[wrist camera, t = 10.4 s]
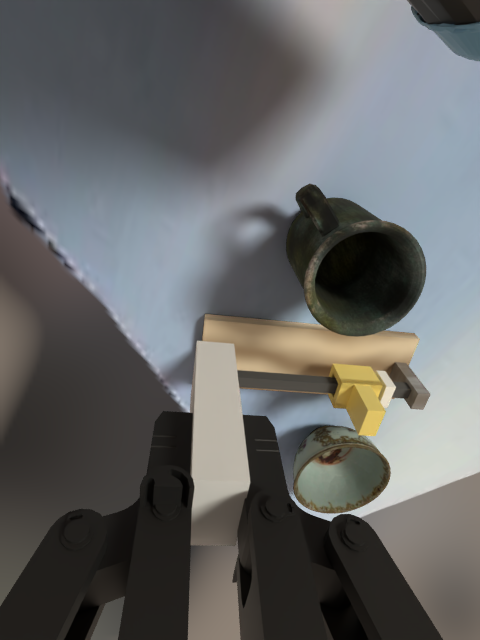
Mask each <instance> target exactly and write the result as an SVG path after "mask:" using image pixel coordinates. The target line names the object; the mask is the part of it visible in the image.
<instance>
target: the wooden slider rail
mask: <svg viewBox="0 0 480 640" xmlns="http://www.w3.org/2000/svg"><path fill="white" fill-rule="evenodd" d="M419 340H420V339H419V338H418V337H417V336H416V335H415V333H405V332H394V331H381V332H379V333H376V334H372V335H367V336H359V337H354V336H345V335H340V334H337V333H335V332H332V331H330V330H328V329H327V328H325V327H324V326H322V325H319V324H309V323H298V322H287V321H276V320H266V319H255V318H244V317H234V316H223V315H212V314H205V318H204V327H203V335H202V341H207V342H219V343H231V344H234V347H235V356H236V364H237V370H243V371H256V372H269V373H283V374H296V375H310V376H323V377H329V374H330V371H331V368H332V365H333V364H345V365H357V366H370V367H371V368H372V369H373V371H374V372H376V370H378V371H386V373H387V374H388V376H389V377H390V379H391V380H392V382H404V383H407V384H408V385H409V387H410V388H411V393H410V395H409V397H408V399H405V398H404V399H405V401H406V402H407V404H408V405H409V406H410V408H411V409H421V410H423V409H424V407H425V405H426V403H427V401H428V399H429V397H430V393H429V392H428V390H427V389H426V388H425V387H424V385H423V384H422V383H421V381H420V380H419V379H418V378H417V376H416V375H415V374H414V372H413V371H412V370H411V369H410V367H409V363H410V361H411V359H412V356H413V354H414V352H415V349H416V347H417V345H418V342H419ZM239 388H242V389H257V390H272V391H286V392H301V393H316V394H328V393H318V392H303V391H288V390H274V389H259V388H245V387H239ZM391 399H394V398H391Z"/></svg>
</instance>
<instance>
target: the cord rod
mask: <svg viewBox="0 0 480 640" xmlns="http://www.w3.org/2000/svg"><path fill="white" fill-rule="evenodd" d="M237 373H238V381H239V387H245V388H259V389H274V390H288V391H303V392H318V393H332V394H335V392H336V389H337V386H338V382H337V380H336V378H335V377H323V376H310V375H296V374H283V373H269V372H256V371H243V370H237ZM393 383H394V385H395V386H396V389H395V391H394V393H393V396H392V398H405V399H408V397H409V395H410V393H411V388H410V387H409V385H408V384H407V383H404V382H393Z"/></svg>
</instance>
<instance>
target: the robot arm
mask: <svg viewBox="0 0 480 640" xmlns="http://www.w3.org/2000/svg"><path fill="white" fill-rule="evenodd" d="M407 1H408V2H409V3H410V4H411V5H412V7H411V10H412V13H413V15H414V17H415V18H416V20H417V21H418V22H419V23H420V24H421V25H423V26H425V27H427V28H428V29H429V30H432V31H434V32H435V34H436V35H437V36H438V37H439V38H440V39H441V40H442V41H443V42H444V43H445V44H446V45H447V46H448V47H449V48H450V50H452V51H453V52H454V53H455V54H457V55H458V56H462V57H464V58H467V59H469V60H475V61H480V0H407ZM237 537H238V549H239V554H238V558H237V562H236V566H235V570H234V574H233V582H237V586H238V603H239V619H240V635H241V640H443V639H442V638H441V636H440V634H439V632H438V631H437V629H436V628H435V626H434V624H433V623H432V621H431V620H430V618H429V616H428V615H427V613H426V612H425V610H424V609H423V607H422V605H421V604H420V602H419V601H418V599H417V597H416V596H415V595H414V593H413V591H412V590H411V588H410V586H409V585H408V584H407V582H406V580H405V578H404V577H403V575H402V574H401V572H400V570H399V569H398V567H397V566H396V564H395V563H394V561H393V559H392V558H391V556H390V555H389V553H388V551H387V550H386V548H385V547H384V545H383V543H382V542H381V540H380V539H379V537H378V536H377V534H376V532H375V531H374V530H373V529H372V528H371V527H370V525H369V524H368V523H367V522H365V521H364V520H362V519H361V518H359V517H357V516H354V515H351V514H340V515H338V516H336V517H334V518H333V520H332V521H331V522H330V521H327V520H324V519H321V518H318V517H316V516H313V515H310V514H308V513H306V512H304V511H303V510H302V509H300V508H299V507H298V506H297V505H296V503H295V502H294V501H293V500H292V499H291V497H290V496H289V493H288V490H287V485H286V480H285V476H284V471H283V466H282V462H281V457H280V453H279V447H278V443H277V438H276V433H275V428H274V426H273V425H272V424H271V422H270V421H269V419H268V418H267V417H266V416H253V415H242V407H241V398H240V390H239V381H238V373H237V364H236V356H235V347H234V344H231V343H219V342H207V341H197V344H196V353H195V362H194V371H193V381H192V390H191V404H190V413H186V412H168V411H167V412H166V411H163V412H162V413H161V415H160V416H159V417H158V419H157V420H156V421H155V425H154V431H153V438H152V444H151V451H150V456H149V463H148V469H147V475H146V476H144V478H143V480H142V483H141V485H140V498H139V499H138V500H137V501H136V502H135V503H134V504H133V505H132V506H130V507H128V508H127V509H125V510H122V511H120V512H117V513H113V514H110V515H106V516H103V517H102V516H101V514H99V513H97V512H95V511H93V510H90V509H79V510H75V511H72V512H68V513H67V514H65V515H64V516H62V517H60V518H59V519H58V520H57V521H56V522H55V523H54V525H53V526H52V527H51V528H50V530H49V531H48V533H47V534H46V536H45V537H44V539H43V540H42V542H41V543H40V545H39V547H38V548H37V550H36V551H35V553H34V555H33V556H32V558H31V559H30V561H29V562H28V564H27V566H26V567H25V569H24V570H23V572H22V573H21V575H20V576H19V578H18V580H17V581H16V583H15V584H14V586H13V587H12V589H11V591H10V592H9V594H8V595H7V597H6V599H5V600H4V601H3V603H2V605H1V606H0V640H90V639H91V636H92V634H93V632H94V629H95V627H96V625H97V622H98V620H99V617H100V615H101V613H102V610H103V608H104V606H105V603H107V602H110V601H112V600H115V599H118V598H121V597H123V596H125V600H124V606H123V612H122V618H121V625H120V631H119V637H118V640H187V639H188V611H189V610H188V609H189V580H190V578H189V577H190V549H191V548H190V547H191V545H221V546H222V545H223V546H226V545H227V546H235V545H236V541H237Z"/></svg>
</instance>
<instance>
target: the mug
mask: <svg viewBox="0 0 480 640" xmlns="http://www.w3.org/2000/svg"><path fill="white" fill-rule="evenodd" d="M296 201H297V203H298V205H299V207H300V209H301V211H302V212H301V213H300V214H299V215H298V216H297V217H296V219H295V220H294V222H293V223H292V225H291V227H290V229H289V233H288V236H287V242H286V251H287V256H288V259H289V262H290V264H291V266H292V268H293V270H294V272H295V274H296V276H297V278H298V279H299V281H300V283H301V285H302V287H303V289H304V294H305V300H306V303H307V306H308V308H309V310H310V312H311V314H312V315H313V317H314V318H315V319H316V320H317V321H318V322H319V323H320V324H321V325H322V326H324V327H325V328H327V329H328V330H330V331H332V332H335V333H337V334H340V335H345V336H354V337H359V336H367V335H372V334H376V333H379V332H381V331H384V330H386V329H388V328H390V327H391V326H393V325H394V324H396V323H397V322H399V321H400V320H401V319H402V318H404V317H405V316H406V315H407V314H408V312H409V311H410V310H411V309H412V308H413V306H414V305H415V304H416V302H417V301H418V299H419V297H420V295H421V293H422V290H423V287H424V284H425V278H426V262H425V257H424V254H423V251H422V248H421V247H420V245H419V243H418V242H417V240H416V239H415V238H414V237H413V235H412V234H411V233H409V232H408V231H407V230H405V229H404V228H402V227H400V226H398V225H396V224H394V223H390V222H387V221H382V220H380V219H379V218H377V217H376V216H374V215H373V214H371V213H370V212H368V211H367V210H365V209H364V208H362V207H361V206H359V205H357V204H356V203H354V202H352V201H350V200H347V199H343V198H327V199H326V197H325V196H324V194H323V193H322V192H321V190H320V189H319V188H318V187H317V186H316V185H312V184H308V185H306V186H304V187H302V188H301V189H300V190H299V191H298V192H297V193H296Z"/></svg>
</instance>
